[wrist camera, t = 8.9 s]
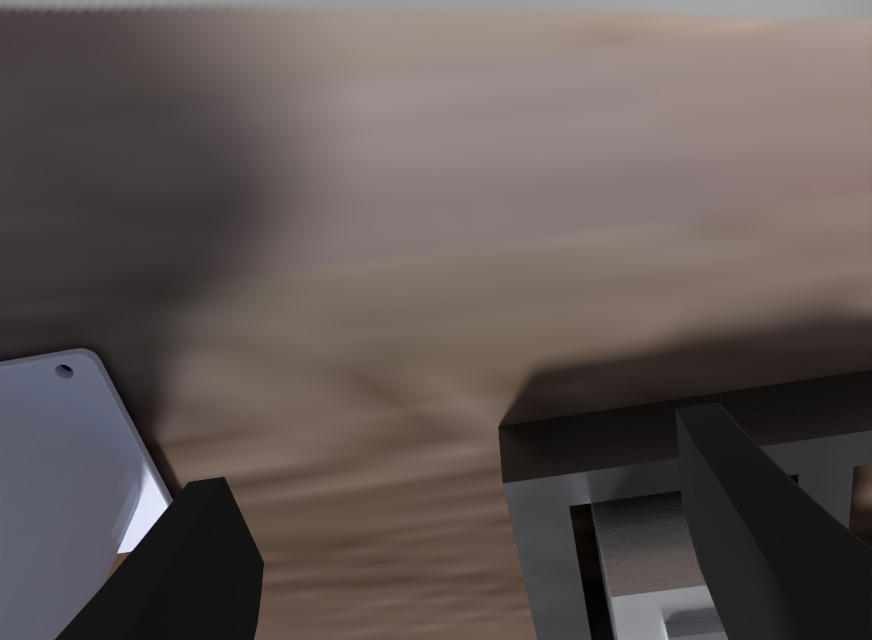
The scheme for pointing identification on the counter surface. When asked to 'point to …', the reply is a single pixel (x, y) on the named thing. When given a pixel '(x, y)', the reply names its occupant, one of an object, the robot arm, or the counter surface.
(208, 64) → the counter surface
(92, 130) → the counter surface
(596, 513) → the block
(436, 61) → the counter surface
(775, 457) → the grey flat rectangular frame
